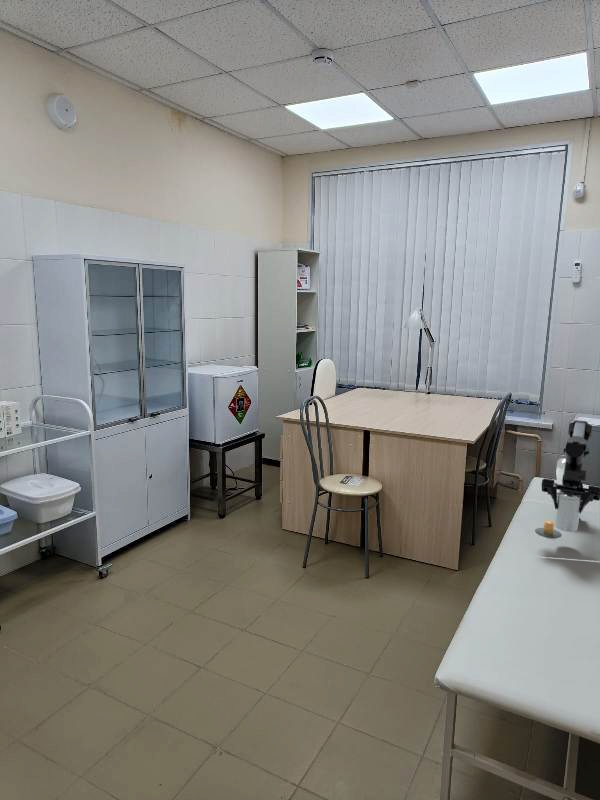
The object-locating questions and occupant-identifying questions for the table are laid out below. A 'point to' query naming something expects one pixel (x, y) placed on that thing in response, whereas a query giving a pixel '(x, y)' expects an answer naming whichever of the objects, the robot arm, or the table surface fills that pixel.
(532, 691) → the table surface
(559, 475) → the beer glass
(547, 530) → the orange egg shape
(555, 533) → the rubber pad
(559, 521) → the grey cup
